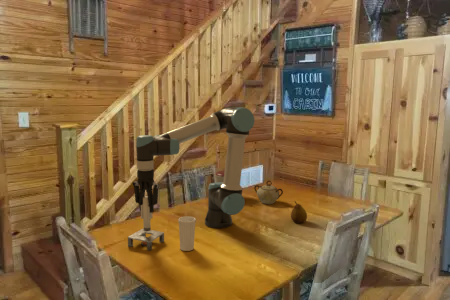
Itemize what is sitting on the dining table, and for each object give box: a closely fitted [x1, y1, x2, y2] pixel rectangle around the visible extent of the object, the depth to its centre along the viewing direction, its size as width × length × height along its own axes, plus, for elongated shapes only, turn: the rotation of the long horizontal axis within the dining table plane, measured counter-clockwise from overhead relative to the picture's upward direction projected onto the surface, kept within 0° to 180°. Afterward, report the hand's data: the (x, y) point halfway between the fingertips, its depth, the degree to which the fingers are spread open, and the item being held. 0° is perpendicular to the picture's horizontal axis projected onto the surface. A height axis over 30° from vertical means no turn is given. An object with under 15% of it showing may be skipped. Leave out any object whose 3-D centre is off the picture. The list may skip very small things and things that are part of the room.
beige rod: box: [142, 195, 152, 231], centre depth 172 cm, size 3×3×16 cm
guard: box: [127, 228, 165, 252], centre depth 173 cm, size 12×12×5 cm
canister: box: [213, 169, 225, 182], centre depth 253 cm, size 18×18×21 cm
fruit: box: [290, 201, 308, 224], centre depth 207 cm, size 9×9×12 cm
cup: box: [178, 215, 197, 252], centre depth 168 cm, size 8×8×14 cm
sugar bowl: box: [253, 180, 284, 205], centre depth 243 cm, size 20×15×15 cm
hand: (146, 218), depth 172 cm, fingers closed on beige rod, 3 cm apart
